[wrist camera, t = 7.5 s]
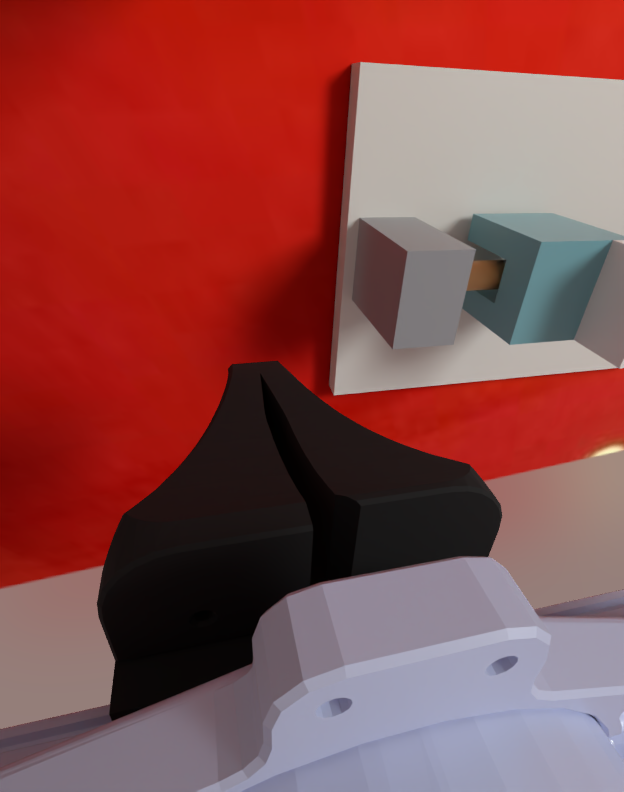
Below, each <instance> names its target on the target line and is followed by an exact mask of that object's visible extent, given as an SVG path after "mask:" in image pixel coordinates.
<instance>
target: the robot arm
mask: <svg viewBox="0 0 624 792" xmlns="http://www.w3.org/2000/svg"><path fill="white" fill-rule="evenodd" d="M228 373H229V374H228V380H227V384H226V388H225V391H224V393H223V396H222V399H221V401H220V404H219V406H218V408H217V410H216V412H215V414H214V416H213V418H212V420H211V422H210V424H209V426H208V428H207V429H206V431H205V433H204V434H203V436H202V437H201V439H200V440H199V442H198V443H197V445H196V446H195V447H194V449H193V450H192V451H191V452H190V454H189V455H188V456H187V458H186V459H185V460H184V461H183V462H182V464H181V465H180V466H179V467H178V468H177V469H176V470H175V471H174V472H173V473H172V474H171V475H170V476H169V477H168V478H167V479H166V480H165V481H164V482H163V483H162V484H161V485H160V486H159V487H158V488H157V489H156V490H155V491H154V492H152V493H151V494H150V495H148V496H147V497H146V498H144V499H143V500H142V501H141V502H139V503H138V504H137V505H135V506H134V507H133V508H132V509H130V510H129V511H127V512H126V513H125V514H124V515H123V516H122V518H121V520H120V523H119V525H118V527H117V530H116V532H115V534H114V537H113V540H112V542H111V545H110V548H109V551H108V554H107V557H106V560H105V564H104V568H103V572H102V577H101V583H100V589H99V595H98V601H97V607H98V615H99V619H100V622H101V624H102V627H103V630H104V632H105V635H106V638H107V640H108V643H109V645H110V648H111V651H112V653H113V656H114V658H115V669H114V677H113V686H112V694H111V702H110V705H106V706H102V707H97V708H93V709H88V710H84V711H79V712H75V713H70V714H66V715H61V716H57V717H52V718H48V719H44V720H39V721H35V722H30V723H26V724H21V725H17V726H13V727H8V728H4V729H0V792H624V589H623V590H618V591H614V592H609V593H605V594H600V595H596V596H592V597H587V598H583V599H578V600H574V601H569V602H565V603H561V604H556V605H551V606H547V607H543V608H538V609H533V608H532V606H531V605H530V603H529V602H528V600H527V599H526V597H525V596H524V594H523V593H522V591H521V590H520V589H519V587H518V586H517V584H516V583H515V581H514V580H513V578H512V577H511V575H510V574H509V572H508V571H507V569H506V568H505V567H503V566H502V565H501V564H499V563H498V562H497V561H495V560H494V559H492V558H490V557H488V556H489V553H490V551H491V548H492V545H493V543H494V540H495V538H496V535H497V533H498V530H499V527H500V522H501V518H502V512H501V505H500V503H499V502H498V500H497V499H496V497H495V496H494V495H493V493H492V492H491V491H490V489H489V488H488V487H487V485H486V484H485V482H484V481H483V480H482V479H481V477H480V476H479V475H478V474H477V473H476V471H475V470H474V469H473V468H472V467H471V466H470V465H469V464H466V463H462V462H458V461H455V460H451V459H447V458H443V457H439V456H435V455H432V454H428V453H425V452H422V451H419V450H417V449H414V448H411V447H408V446H405V445H403V444H400V443H397V442H395V441H392V440H390V439H388V438H386V437H383V436H381V435H379V434H377V433H375V432H373V431H371V430H369V429H367V428H365V427H363V426H361V425H359V424H357V423H356V422H354V421H352V420H351V419H349V418H347V417H345V416H344V415H342V414H341V413H339V412H338V411H336V410H335V409H333V408H332V407H330V406H329V405H328V404H326V403H325V402H323V401H322V400H321V399H319V398H318V397H317V396H316V395H314V394H313V393H312V392H311V391H310V390H308V389H307V388H306V387H305V386H304V385H303V384H302V383H301V382H299V381H298V380H297V379H296V378H295V377H294V376H293V375H292V374H291V373H290V372H289V371H288V370H287V369H286V368H285V367H284V366H282V365H281V364H280V363H279V362H278V361H270V362H257V363H244V364H232V365H231V366H230V367H229V368H228Z"/></svg>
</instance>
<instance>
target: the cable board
mask: <svg viewBox="0 0 624 792" xmlns="http://www.w3.org/2000/svg"><path fill="white" fill-rule="evenodd" d="M506 213H554V214H557V215H560V216H563V217H566V218H569V219H573V220H576V221H579V222H582V223H585V224H588V225H591V226H594V227H597V228H601V229H604V230H607V231H610V232H613V233H616V234H619V235H622V236H624V80H614V79H599V78H584V77H570V76H555V75H540V74H526V73H511V72H496V71H482V70H467V69H452V68H438V67H423V66H408V65H394V64H379V63H364V62H359V63H354V64H352V70H351V84H350V98H349V112H348V126H347V140H346V154H345V168H344V182H343V196H342V210H341V224H340V238H339V252H338V266H337V280H336V294H335V308H334V322H333V336H332V350H331V364H330V378H329V386H330V388H331V390H332V392H333V394H334V395H342V394H352V393H363V392H373V391H383V390H394V389H404V388H414V387H425V386H435V385H445V384H456V383H466V382H476V381H487V380H497V379H507V378H518V377H528V376H538V375H549V374H559V373H569V372H580V371H590V370H600V369H611V368H618V367H616V366H614V365H613V364H611V363H610V362H608V361H606V360H605V359H603V358H602V357H600V356H599V355H597V354H595V353H594V352H592V351H591V350H589V349H587V348H586V347H584V346H583V345H581V344H579V343H578V342H576V341H575V340H565V341H553V342H540V343H527V344H515V345H509V344H508V343H506V342H505V341H504V340H503V339H501V338H500V337H499V336H497V335H496V334H495V333H493V332H492V331H491V330H490V329H488V328H487V327H486V326H484V325H483V324H482V323H480V322H479V321H478V320H477V319H475V318H474V317H473V316H471V315H470V314H469V313H467V312H466V311H465V310H464V309H462V307H463V302H464V298H465V294H466V291H473V290H494V289H499V285H500V281H501V278H502V274H503V270H504V267H505V263H506V259H504V258H502V257H500V256H498V255H496V254H494V253H492V252H490V251H488V250H486V249H484V248H482V247H480V246H478V245H476V244H474V243H472V242H471V241H469V240H467V239H468V235H469V230H470V226H471V221H472V217H473V214H506Z"/></svg>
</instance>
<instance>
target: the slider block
mask: <svg viewBox="0 0 624 792" xmlns="http://www.w3.org/2000/svg"><path fill="white" fill-rule="evenodd" d="M467 240H469V241H471V242H472V243H474V244H476V245H478V246H480V247H482V248H484V249H486V250H488V251H490V252H492V253H494V254H496V255H498V256H500V257H502V258H504V259H506V263H505V267H504V270H503V274H502V278H501V281H500V285H499V289H494V290H473V291H466V294H465V298H464V302H463V307H462V309H464V310H465V311H466V312H467V313H469V314H470V315H471V316H473V317H474V318H475V319H477V320H478V321H479V322H480V323H482V324H483V325H484V326H486V327H487V328H488V329H490V330H491V331H492V332H493V333H495V334H496V335H497V336H499V337H500V338H501V339H503V340H504V341H505V342H506V343H508V344H509V345H515V344H527V343H540V342H553V341H565V340H575V341H576V342H578V343H579V344H581V345H583V346H584V347H586V348H587V349H589V350H591V351H592V352H594V353H595V354H597V355H599V356H600V357H602V358H603V359H605V360H606V361H608V362H610V363H611V364H613V365H614V366H616V367H618V368H624V236H622V235H619V234H616V233H613V232H610V231H607V230H604V229H601V228H597V227H594V226H591V225H588V224H585V223H582V222H579V221H576V220H573V219H569V218H566V217H563V216H560V215H557V214H554V213H506V214H473V217H472V221H471V226H470V230H469V235H468V239H467Z"/></svg>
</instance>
